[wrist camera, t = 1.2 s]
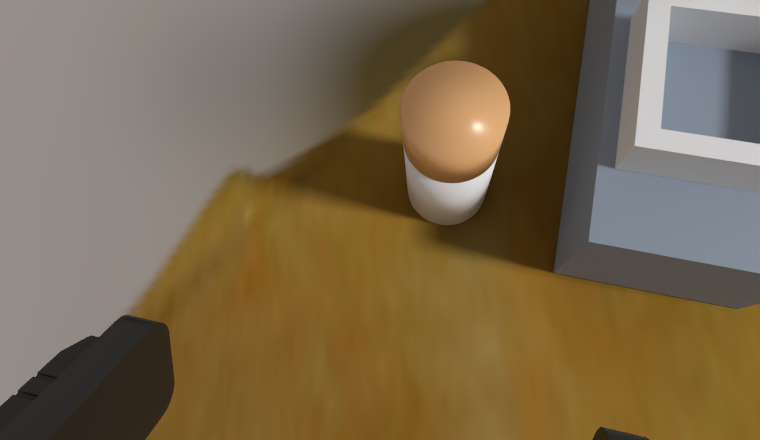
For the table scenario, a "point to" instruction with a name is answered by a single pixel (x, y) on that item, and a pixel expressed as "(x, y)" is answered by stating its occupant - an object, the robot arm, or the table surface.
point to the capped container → (452, 138)
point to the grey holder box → (667, 151)
